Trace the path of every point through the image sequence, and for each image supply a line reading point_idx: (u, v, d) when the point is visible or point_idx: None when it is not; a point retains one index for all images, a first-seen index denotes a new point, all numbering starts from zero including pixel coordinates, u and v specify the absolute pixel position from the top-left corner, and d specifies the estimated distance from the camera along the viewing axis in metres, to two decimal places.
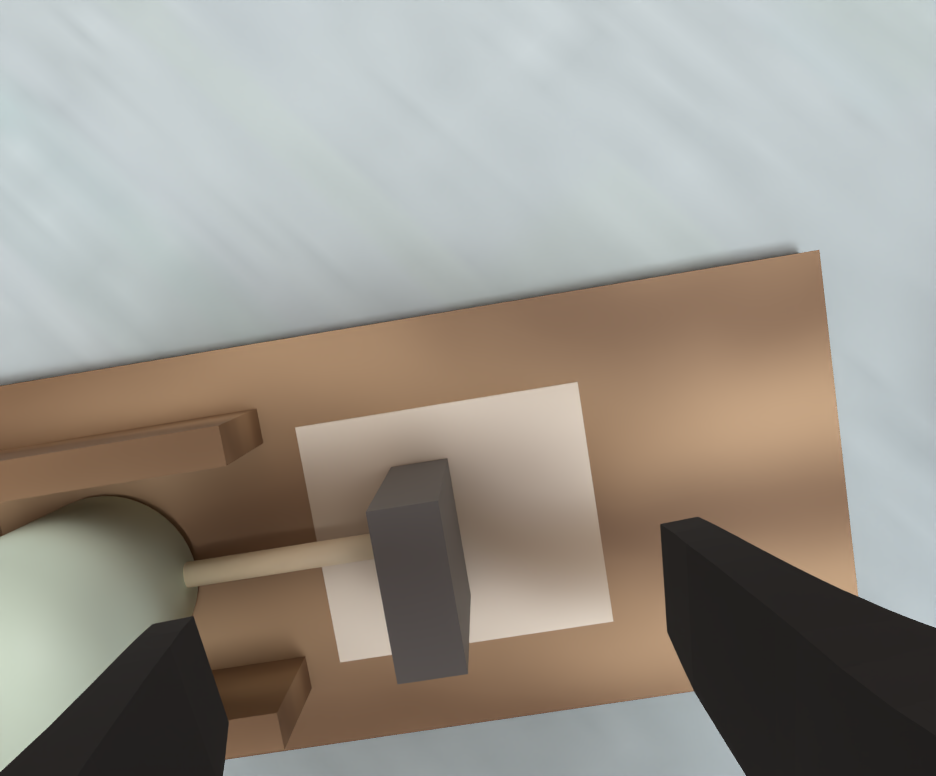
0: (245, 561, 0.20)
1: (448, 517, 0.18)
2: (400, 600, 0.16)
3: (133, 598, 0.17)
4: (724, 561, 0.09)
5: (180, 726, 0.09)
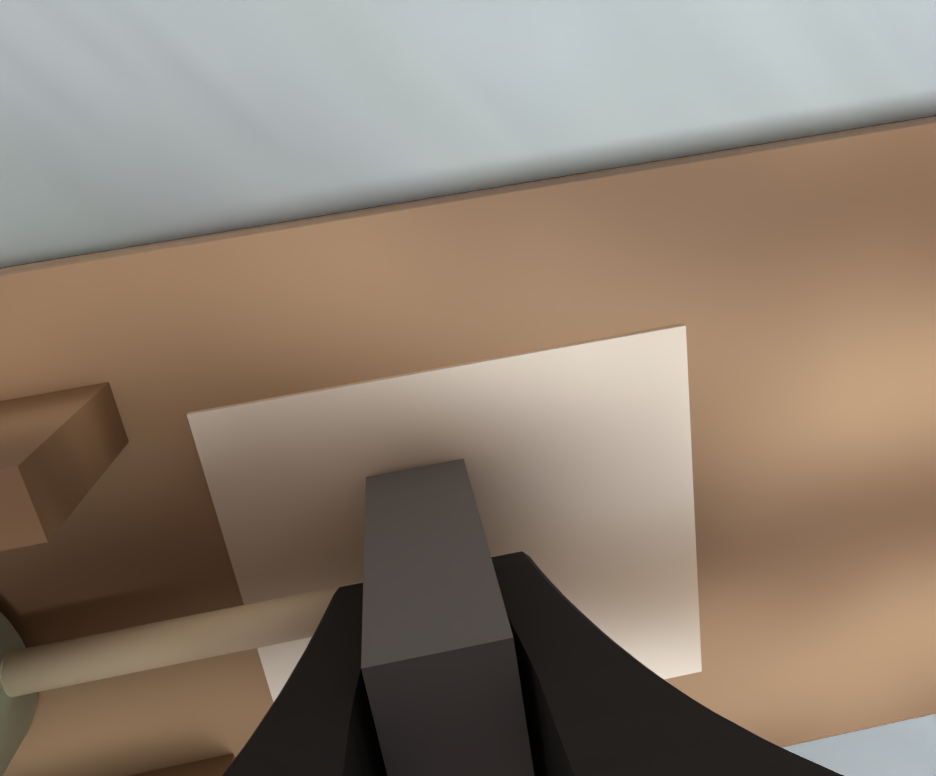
0: (115, 652, 0.11)
1: None
2: None
3: None
4: (515, 603, 0.09)
5: None
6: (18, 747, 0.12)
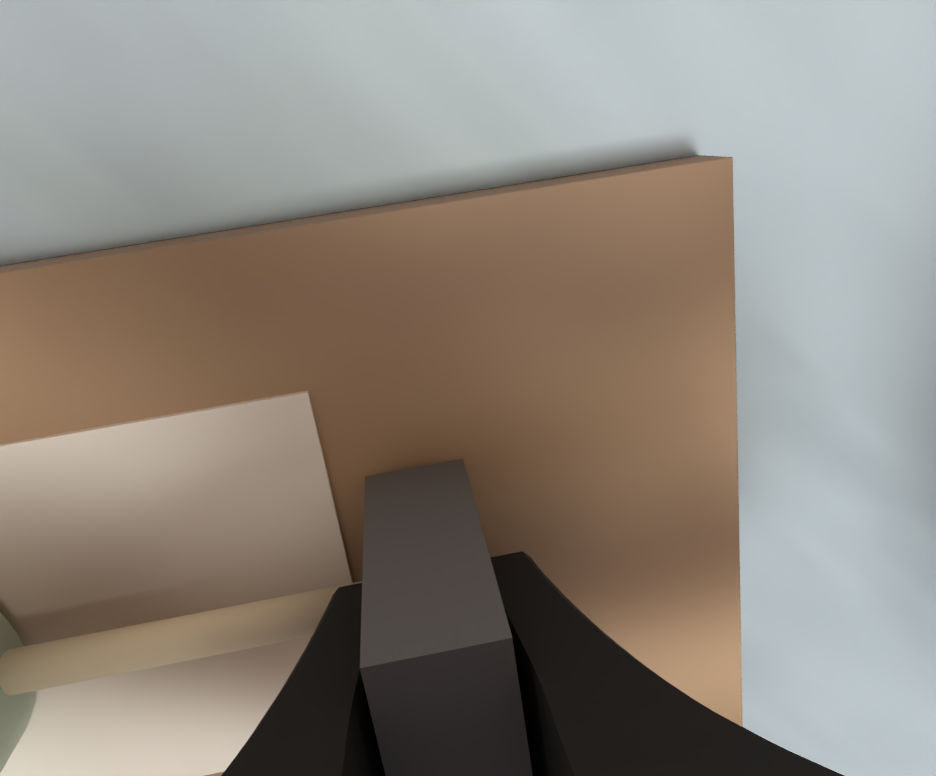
0: (113, 650, 0.11)
1: None
2: None
3: None
4: (515, 603, 0.09)
5: None
6: (15, 746, 0.12)
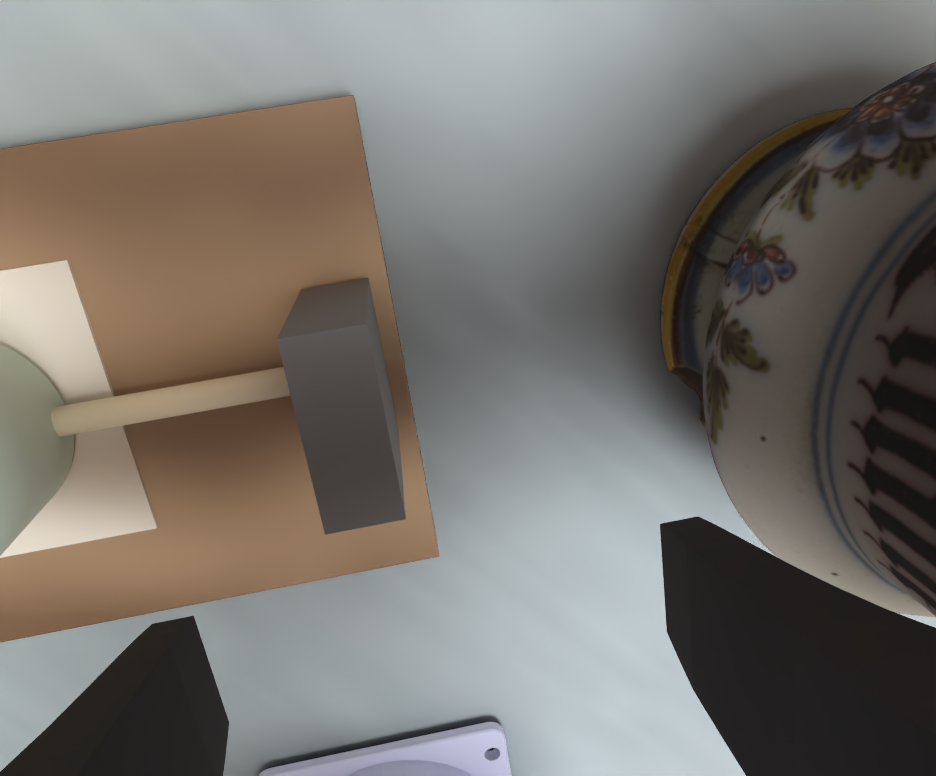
0: (129, 404, 0.17)
1: (376, 345, 0.15)
2: (324, 442, 0.14)
3: None
4: (724, 561, 0.09)
5: (180, 725, 0.09)
6: (61, 481, 0.17)
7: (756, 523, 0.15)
